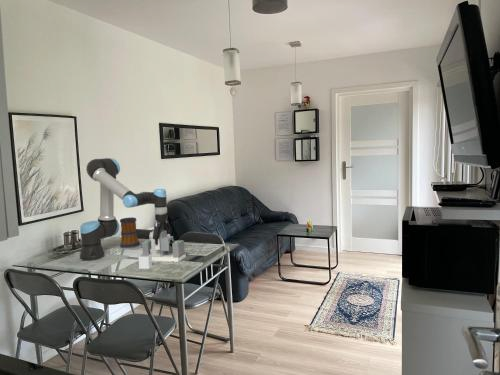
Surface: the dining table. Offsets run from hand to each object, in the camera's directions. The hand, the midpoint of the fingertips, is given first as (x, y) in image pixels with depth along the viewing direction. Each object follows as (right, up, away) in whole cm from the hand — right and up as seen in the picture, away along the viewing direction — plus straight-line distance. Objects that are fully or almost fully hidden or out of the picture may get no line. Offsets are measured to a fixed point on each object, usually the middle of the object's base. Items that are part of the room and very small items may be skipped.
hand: (163, 246), depth 242 cm
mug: (-33, -5, +41) cm, 53 cm away
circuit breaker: (0, -5, 0) cm, 5 cm away
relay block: (-7, -10, -16) cm, 20 cm away
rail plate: (0, -8, +1) cm, 8 cm away
